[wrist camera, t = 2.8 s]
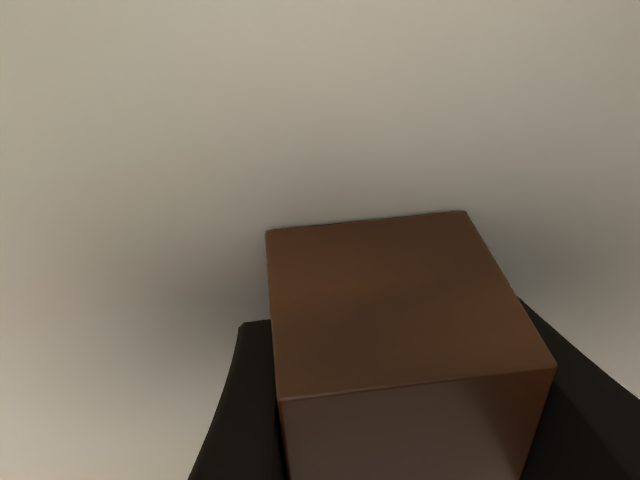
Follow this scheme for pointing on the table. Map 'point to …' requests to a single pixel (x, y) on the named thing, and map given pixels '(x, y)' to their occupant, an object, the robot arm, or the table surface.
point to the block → (401, 353)
